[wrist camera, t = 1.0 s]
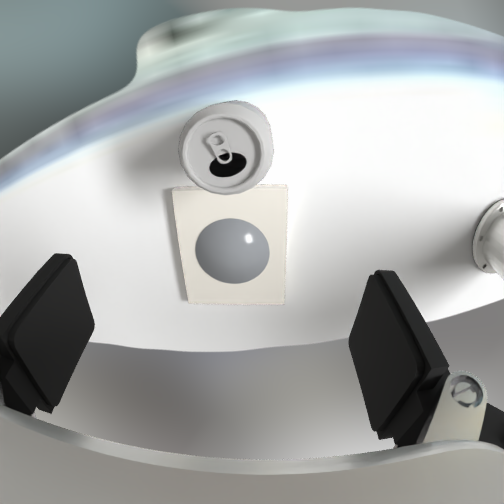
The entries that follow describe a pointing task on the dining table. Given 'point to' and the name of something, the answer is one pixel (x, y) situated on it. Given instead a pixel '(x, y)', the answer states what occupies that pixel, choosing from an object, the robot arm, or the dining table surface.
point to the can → (227, 147)
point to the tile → (233, 244)
